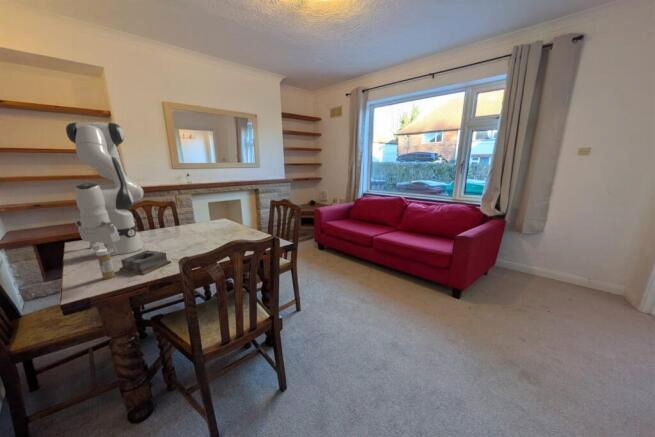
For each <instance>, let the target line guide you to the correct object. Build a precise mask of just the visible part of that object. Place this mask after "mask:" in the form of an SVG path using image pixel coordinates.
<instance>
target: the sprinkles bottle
mask: <svg viewBox="0 0 655 437" xmlns="http://www.w3.org/2000/svg"><path fill="white" fill-rule="evenodd" d="M104 248H105V247H104ZM95 255H96V256H97V259H98V265H99V268H100V272H101V275H102V279H103V280H109V279H112V278H114V277H116V274H115V268H114V264H113V261H112V257H111V255H110V252H107V248H105V249H103V248H100V250H97V251H95Z"/></svg>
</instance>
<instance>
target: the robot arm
mask: <svg viewBox="0 0 655 437" xmlns="http://www.w3.org/2000/svg"><path fill="white" fill-rule="evenodd" d="M65 132H66V136H67V138H68V139H69V141H70V142H72V143H74V144H75V151H76V156H77V158H78V160H79V161H81V162H82V163H83V164H85V165H87V166H89V167H92V168H94V169H95V170H96V173H97V174H98V176H100V177H101V178H104V179H108V180H111V181H113V182H114V184H105V185H102V184H101V185H99V184H98V183H89V182H88V183H83V184H78V185H77V186H75V187H74V192H75V193H74V194H75V195H74V196H75V201H76V205H77V208H78V209H79V211H80V213H79V214H80V219H78V220H76V221H75V225H76V227H78V228H77V229H78V233H79V236H80V238H81V239H82V241H84V242H88V243H89V245H90V244H91V246H92V247H93V249H92V250H93V251H95V252H96V251H97V250H100V249H101V248H100V247H99V246H100V245H99V243H101V244H103V246H104V248H102V249H105V248H107V252H110V257H111V256H117V255H122V254H123V255H124V254H129V253H133V252H134V253H135V252H137V251H139V250H142V249H143V248H144V246H145V242H143V240H142V238H141V234H140V233H139V232H138V228H137V225H136V224H135V218H134V215H133V213H132V211H130V210H128V209H129V208H131V207H132V206H133V204H134V202H138V201H141V200H142V199H143V197H144V189H143V187H141V185H139V184H138V183H136V182H134V181H133V180H131V179H130V178H129V177H128V176H127V175H126V174H125V171H124V169H123V165H122V162H121V157H120V154H119V153H120V152H119V150H118V149H117V147H119V145H121V144H122V143H123V142H124V140H125V133H124V130H123V129H122V127H121V126H120V125H119V124H117V123H114V122H102V121H101V122H100V121H93V122H92V121H91V122H87V121H86V122H70V123H68V124H67V125H66V127H65ZM98 245H99V246H98Z"/></svg>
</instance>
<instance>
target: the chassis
mask: <svg viewBox="0 0 655 437" xmlns="http://www.w3.org/2000/svg"><path fill="white" fill-rule="evenodd" d="M120 261H121V265H122V267H119V271H123V272H128V273H131V274H132V273H134V274H139V275H143V276H144V275H145V276H146V275H148V274H150V273H152V272H154V271H156V270H158V269H160V268H163V267H166V266H167V265H170V264H172V261H171V260H168V258H167V252H163V251H156V250H155V251H154V250H149V249H148V250H145V251H142V252H139V253H137V254H133V255H130V256H128V257H126V258H125V257H124V258H122V259H121V260H120Z"/></svg>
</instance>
